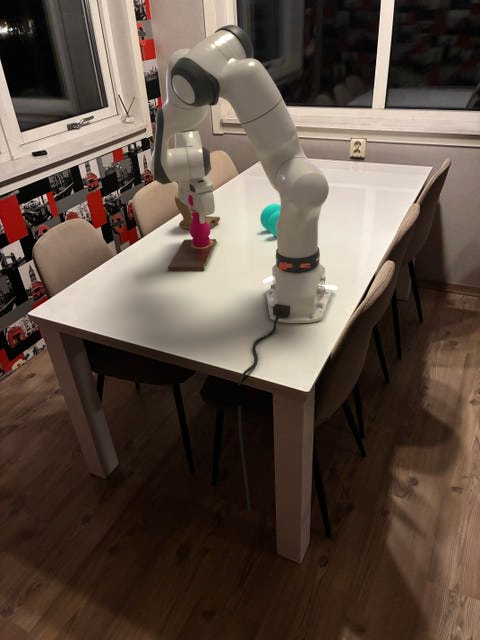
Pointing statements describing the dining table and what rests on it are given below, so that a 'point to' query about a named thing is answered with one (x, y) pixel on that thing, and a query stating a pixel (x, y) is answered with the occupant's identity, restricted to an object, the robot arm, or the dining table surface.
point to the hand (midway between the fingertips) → (198, 220)
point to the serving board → (191, 256)
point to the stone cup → (187, 215)
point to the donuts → (270, 217)
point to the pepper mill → (198, 228)
